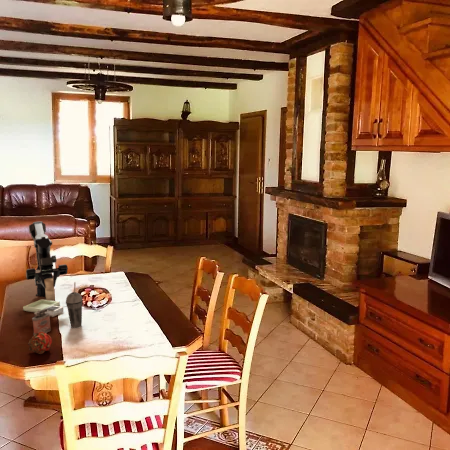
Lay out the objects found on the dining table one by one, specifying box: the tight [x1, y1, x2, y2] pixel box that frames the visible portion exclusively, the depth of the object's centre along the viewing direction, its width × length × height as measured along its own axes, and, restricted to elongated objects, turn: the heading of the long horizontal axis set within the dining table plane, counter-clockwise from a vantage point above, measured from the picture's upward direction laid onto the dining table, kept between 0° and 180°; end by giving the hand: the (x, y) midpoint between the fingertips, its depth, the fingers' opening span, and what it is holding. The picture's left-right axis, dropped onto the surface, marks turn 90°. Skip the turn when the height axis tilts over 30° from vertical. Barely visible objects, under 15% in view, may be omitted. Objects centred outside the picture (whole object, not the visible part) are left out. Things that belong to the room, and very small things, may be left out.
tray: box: [22, 298, 61, 313], centre depth 241 cm, size 12×12×2 cm
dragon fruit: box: [27, 332, 53, 355], centre depth 190 cm, size 8×8×12 cm
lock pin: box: [44, 278, 56, 301], centre depth 232 cm, size 4×4×10 cm
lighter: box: [31, 309, 52, 336], centre depth 209 cm, size 8×3×10 cm, turn 148°
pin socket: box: [45, 305, 65, 318], centre depth 233 cm, size 7×7×2 cm
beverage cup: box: [65, 281, 84, 329], centre depth 214 cm, size 7×7×20 cm
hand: (49, 286), depth 231 cm, fingers closed on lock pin, 4 cm apart
